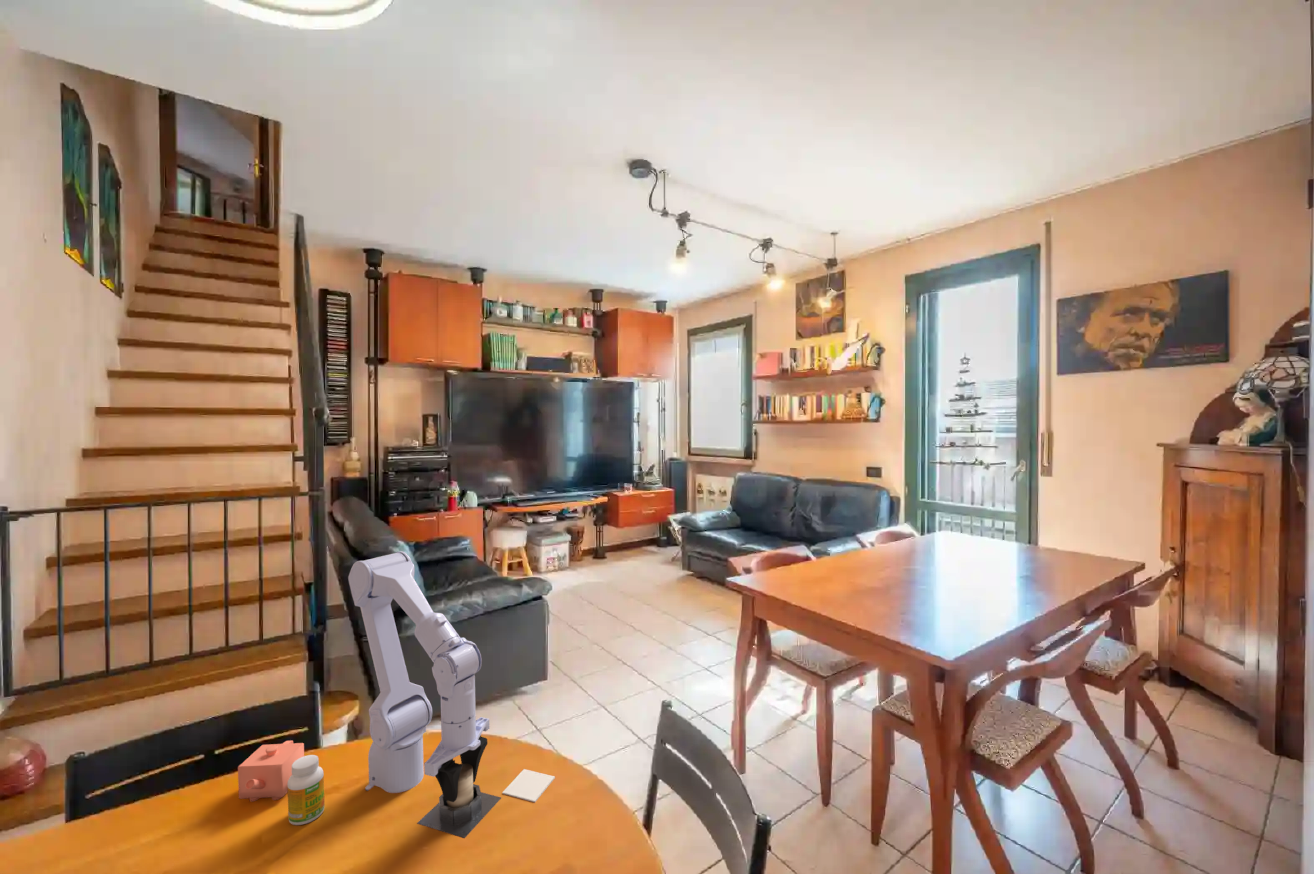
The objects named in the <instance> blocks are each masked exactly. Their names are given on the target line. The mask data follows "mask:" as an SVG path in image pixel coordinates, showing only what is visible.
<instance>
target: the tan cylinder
mask: <svg viewBox="0 0 1314 874" xmlns="http://www.w3.org/2000/svg"><path fill="white" fill-rule="evenodd" d="M462 765H463V766H462V768H461V771H460V775H459V780H458V794H457V799H456V800H455V801H454V802H451V801H447V807H451V808H454V809H455V808H459V807H462V806H465V805H468V804H470V803H471V802H472V801H473V784H474V783H473V767H472V766H471V765H470V764H462Z"/></svg>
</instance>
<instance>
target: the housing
mask: <svg viewBox="0 0 1314 874" xmlns="http://www.w3.org/2000/svg"><path fill="white" fill-rule="evenodd" d="M438 798H439V799H438V801H439V802H437V804H436V805H435V806H434V807H432V808H431V809H430V810H429V811H428V812H427V813H426V814H425V815H423V817H422V818H421V819H419V820H418V822H417V823H416V824H417V825H421V826H424V827H426V828H427V827H428V828H430V829H434V830H436V831H439V832H442V833H443V832H444V833H446V834H450V835H453V836H456V837H459V838H462V839H465V838H466V837H467V836H468V835H469V834H470V833H471V832H472V831H473V829H474V828H476V827H477V825H478V824H480V822H481V821H482V820H483V819H484V818H485V817H486V815H487V814H488V813H489V812H490V811H492V809H493V808H494V807H495V806H496V805H497V803H498V802H499V801H500V800H501V799H502V797H500V796H497V795H493V794H490V793H486V792H481V788H480V785H478V784H475V783H473V801H472V802H471V803H470V804H468V805H465V806H462V807H459V808H455V809H454V808H451V807H447V800H445V799H444V796H443V793H442V794H441V795H440V796H438Z"/></svg>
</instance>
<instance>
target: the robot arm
mask: <svg viewBox="0 0 1314 874" xmlns="http://www.w3.org/2000/svg"><path fill="white" fill-rule="evenodd" d="M347 579H348V584H349V588H350V593H351V597H352V600H353V603H354V606H355V607H359V608H360V611H361V612H360V613H361V617H362V620H363V624H364V629H365V633H366V637H367V641H368V645H369V649H370V654H371V658H372V661H373V662H372V663H373V667H374V670H375V675H376V678H377V679H376V680H377V683H378V686H379V687H378V688H379V692H380V693H379V694H378V696H377V697H376V698H375V700H374V701H373V703H372V704H371V706H370V707H369V709H368V715H369V734H370V738H371V740H372V743H371V744H370V746H369V747H370V748H369V751H368V755H367V756H368V757H367V758H368V761H367V762H368V763H367V764H368V784H367V785H366V786H365V788H364V790H365V791H367V792H369V790H371V789H372V788H374V786H376V787H379V788H380V789H382V790H384V791H385V792H387V793H390V794H398V793H402V792H407V791H408V790H411V789H413V788H416V786H418V785H419V784H420V783H421V782H422V780H423V778H424V775H426V776H429V777H432V778H433V777H435V778H436V780H437V782H438V784H439V786H440V790H441V792H442V794H443V796H444V799H445V800H447V801H451V802H454V801H455V800H456V799H457V794H458V780H459V775H460V771H461V768H462V766H463V765H462V764H470V765H471V766H472V767H473V784H475V781H476V780H477V775H478V771H479V766H480V762H481V759H482V756H483V754H484V751H485V749H486V748H487V745H488V738H486V737H484V736H482V734H483V732H487V731H489V729H490V718H487V717H482V716H480V717H479V718H477V719H476V717H477V716H476V676H475V674H477V673H478V672H479V671H480V670H481V668H482V665H483V663H482V662H483V659H482V654H481V651H480V650H479V647H478V645H477V644H476V643H475V642H473V641H471V640H468V639H466V637H461V636H460V635H459V633H458V632H457V630H455V628H454V626H453V625H452V624H451V623H450V622H449V620H448V619H447V617H446V616H445V614H443V613H442V612H434V610H433V608H432V607H431V605H430V604H429V602H428V600H427V598H426V597H425V595H424V594H423V592H422V590H421V588H420V587H419V584H418V583H417V581H416V580H415V565H414V563H413V562H412V559H411V557H410V556H409V555H408V554H407V552H405V551H402V550H399V551H395V552H394V553H390V554H385V555H382V556H377V557H374V558H370V559H365V560H358V561H355V562H354V563H353V565H352V566H351V569H350V571H349V574H348V576H347ZM393 600H394V601H395V602H396V603H397V604H398V606H400V608H401V609H402V610H403V611H404V612H405V614H406V615H407V616H408V617H409V618H410V620H411V621H412V622H413V623H414V625H415V628H414V637H415V639H417V641H418V643H419V644H420V645H421V647H422V648H423V650H424V651H425V652H426V654H427V656H428V657H429V659H431V661H432V662H433V666H431V672H432V676H433V678H434V680H435V683H436V690H437V692H438V696H440V722H441V723H440V730H441V740H440V742H439V743H438V745H437V746H436V747H435V749H434V751H433V752H432V754H431V756H430V757H429V758H428V759H427V760H426V761H425V762H424V733H426V732H427V726H428V725H429V724H430V723H431V721H432V719H433V718H432V717H433V707H432V704H431V702H430V700H429V699H428V697H427V695H426V693H425V690H424V687H423V686H422V685H419V684H415V683H414V682H410V679H409V673H408V670H407V666H406V662H405V658H404V653H403V650H402V645H401V642H400V641H401V640H400V638H399V634H398V630H397V626H396V622H395V617H394V612H393V610H392V605H391V604H392V601H393ZM458 756H459V757H460V762H461V763H459V762H458V763H457V762H456V760H455V759H454V758H456V757H458Z"/></svg>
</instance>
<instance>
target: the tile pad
mask: <svg viewBox="0 0 1314 874" xmlns="http://www.w3.org/2000/svg"><path fill="white" fill-rule="evenodd" d="M555 779H556V777H555V775H550V774H546V773H541V772H537V771H534V770H530V769H525V768H523V770H522V771H520V773H519V774H518V775H517V776H516V777H515V778H514V779H513V780H512V782H510V784H509V785H508V786H507V787H506V788H505V789H504V790H503V791H502V793H501V794H503V795H506V796H510V797H512V798H513V797H514V798H518V799H521V800H524V801H528V802H532V803H536V802H537V801H538V800H539V798H540V797H541V796H542V795H543V794H544V792H545V791H546V790H547V788H548V787H549V786H550V785H551V784H552V783H553V781H554V780H555Z"/></svg>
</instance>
